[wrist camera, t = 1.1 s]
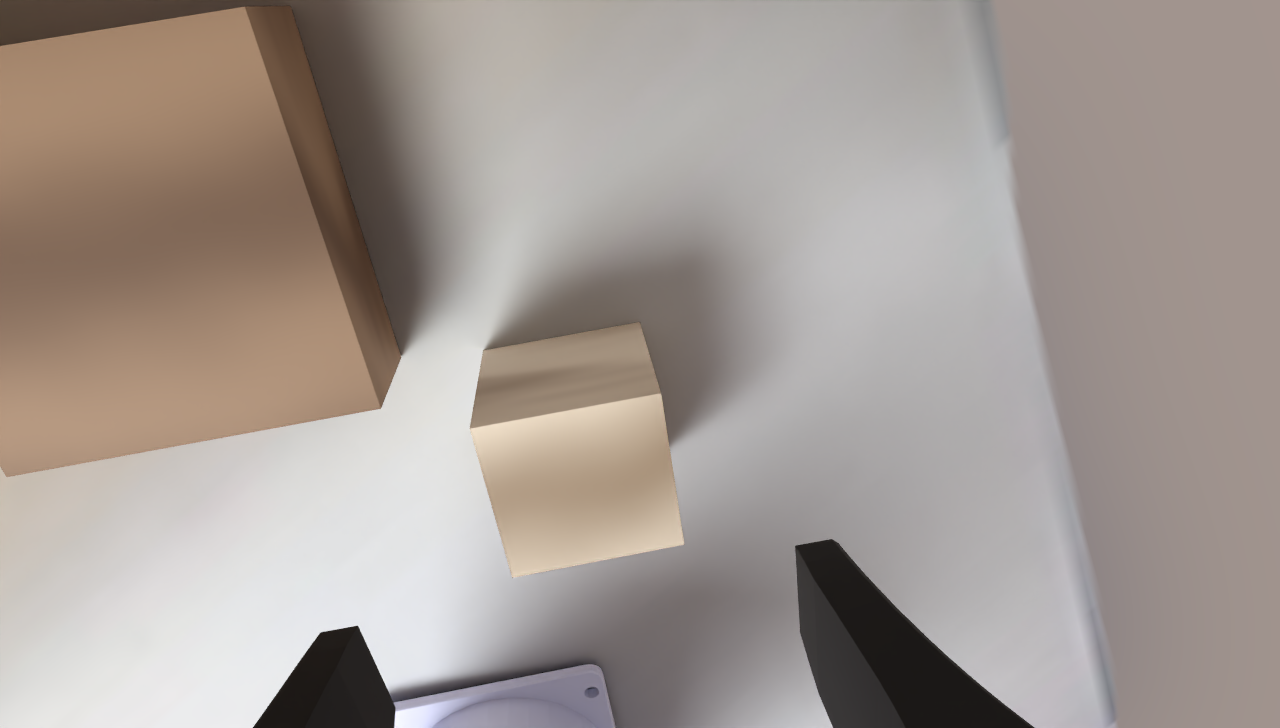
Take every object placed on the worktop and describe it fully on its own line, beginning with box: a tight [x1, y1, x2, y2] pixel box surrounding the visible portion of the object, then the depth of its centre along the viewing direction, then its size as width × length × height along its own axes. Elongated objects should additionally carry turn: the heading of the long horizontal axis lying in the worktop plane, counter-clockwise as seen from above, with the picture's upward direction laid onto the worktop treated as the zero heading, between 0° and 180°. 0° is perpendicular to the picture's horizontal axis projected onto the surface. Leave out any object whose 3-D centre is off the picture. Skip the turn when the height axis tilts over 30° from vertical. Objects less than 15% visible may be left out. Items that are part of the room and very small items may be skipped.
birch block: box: [470, 322, 684, 578], centre depth 21 cm, size 4×4×4 cm
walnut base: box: [0, 6, 401, 477], centre depth 18 cm, size 9×9×3 cm
